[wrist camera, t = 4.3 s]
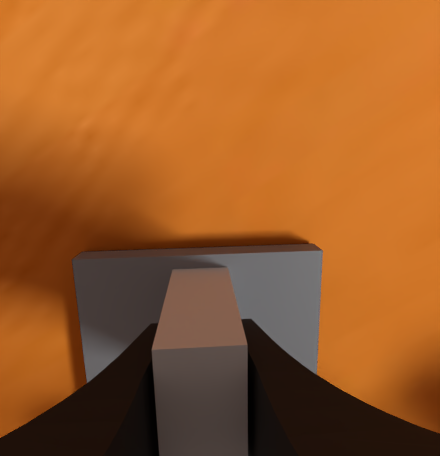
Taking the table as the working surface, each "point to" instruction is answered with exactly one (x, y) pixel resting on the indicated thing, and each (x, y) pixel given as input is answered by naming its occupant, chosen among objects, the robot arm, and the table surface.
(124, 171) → the table surface
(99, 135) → the table surface
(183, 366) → the gray plate with post
